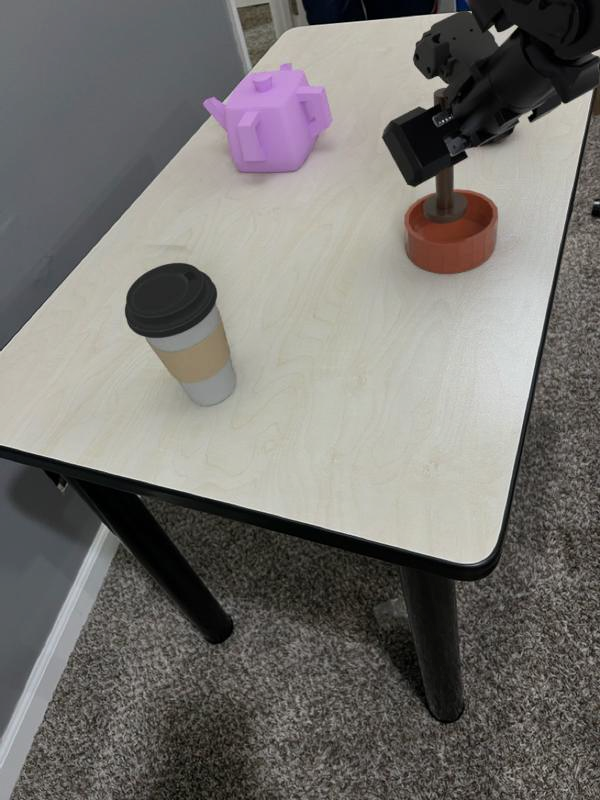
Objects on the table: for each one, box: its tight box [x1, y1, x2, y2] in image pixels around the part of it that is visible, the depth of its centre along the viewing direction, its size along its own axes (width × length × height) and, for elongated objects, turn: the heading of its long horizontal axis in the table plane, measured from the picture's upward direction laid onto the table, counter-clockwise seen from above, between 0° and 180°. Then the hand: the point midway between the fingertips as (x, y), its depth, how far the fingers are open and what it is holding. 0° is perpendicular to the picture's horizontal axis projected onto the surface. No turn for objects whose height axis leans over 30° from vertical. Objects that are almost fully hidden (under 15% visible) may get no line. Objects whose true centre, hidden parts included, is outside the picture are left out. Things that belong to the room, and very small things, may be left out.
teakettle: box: [202, 62, 334, 173], centre depth 96 cm, size 17×17×12 cm
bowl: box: [403, 188, 499, 275], centre depth 75 cm, size 11×11×4 cm
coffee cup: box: [124, 262, 237, 407], centre depth 64 cm, size 9×9×15 cm
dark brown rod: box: [423, 87, 467, 224], centre depth 66 cm, size 5×5×14 cm
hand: (436, 152), depth 67 cm, fingers closed on dark brown rod
